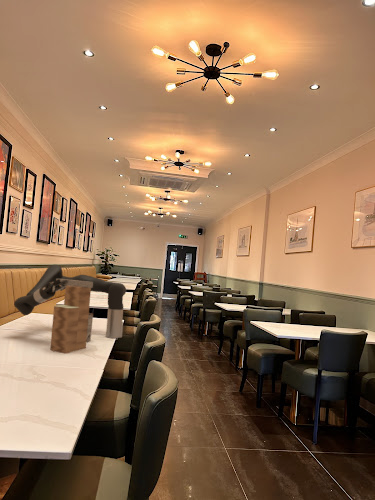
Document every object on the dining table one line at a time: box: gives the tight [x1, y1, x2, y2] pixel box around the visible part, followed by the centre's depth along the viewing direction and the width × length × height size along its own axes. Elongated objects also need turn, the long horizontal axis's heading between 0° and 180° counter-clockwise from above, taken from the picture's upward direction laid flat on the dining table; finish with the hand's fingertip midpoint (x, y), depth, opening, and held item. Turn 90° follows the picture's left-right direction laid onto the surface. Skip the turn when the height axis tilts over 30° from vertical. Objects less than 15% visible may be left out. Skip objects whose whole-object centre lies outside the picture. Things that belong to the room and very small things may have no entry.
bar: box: [56, 279, 93, 288], centre depth 190 cm, size 22×3×3 cm, turn 67°
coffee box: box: [86, 312, 94, 343], centre depth 205 cm, size 9×6×16 cm
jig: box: [49, 286, 92, 354], centre depth 184 cm, size 10×15×32 cm, turn 157°
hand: (65, 280), depth 192 cm, fingers open, 8 cm apart
